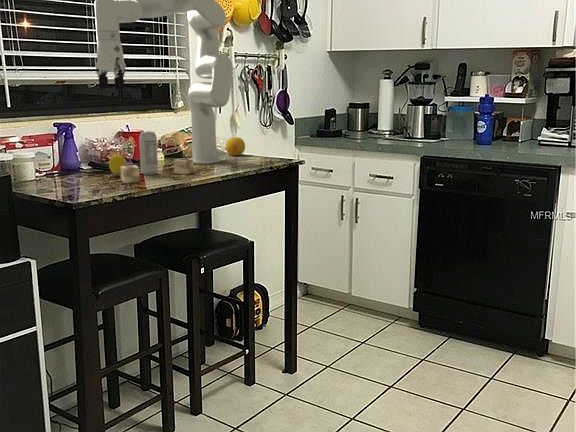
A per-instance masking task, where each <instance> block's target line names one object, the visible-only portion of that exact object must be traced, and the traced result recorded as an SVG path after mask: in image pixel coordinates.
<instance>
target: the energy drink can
mask: <svg viewBox="0 0 576 432" xmlns="http://www.w3.org/2000/svg"><path fill="white" fill-rule="evenodd" d="M157 137H158V136H157V135H156V133H155V131H152V130H151V131H150V130H149V131H141V132H140V135H139V137H138V139H139V156H140V159H139V160H140V161H139V162H140V172H141V174H142V175H144V176H151V175H152V176H153V175H156V174H158V172H159V162H158V142H157V140H158V138H157Z"/></svg>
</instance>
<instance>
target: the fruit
mask: <svg viewBox="0 0 576 432" xmlns="http://www.w3.org/2000/svg"><path fill="white" fill-rule="evenodd" d="M224 146H225V147H224V148H225V150H226V152H227V154H228V155H230V156H233V157H234V156H235V157H236V156H237V157H238V156H241V155H243V154H244V153H245V149H246V143H245V141H244V139H243V138H241V137H238V136H232V137H229V138H228V139H227V140H226V142H225V145H224Z"/></svg>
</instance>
